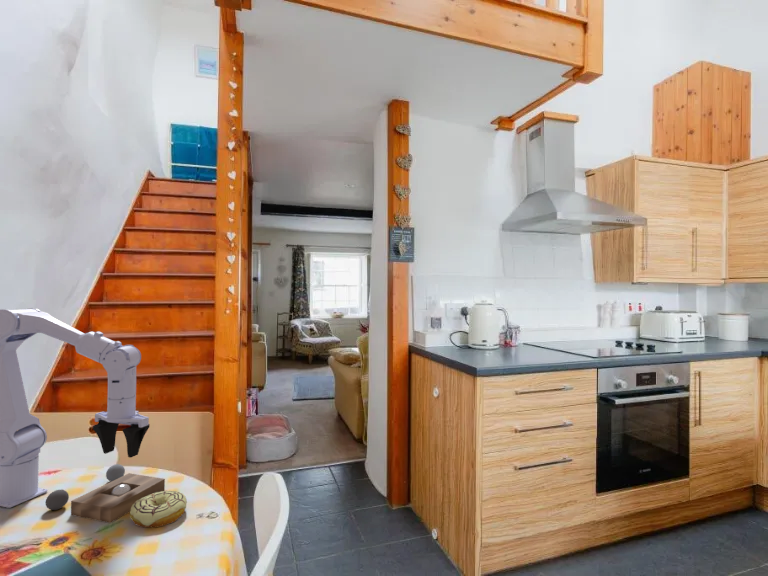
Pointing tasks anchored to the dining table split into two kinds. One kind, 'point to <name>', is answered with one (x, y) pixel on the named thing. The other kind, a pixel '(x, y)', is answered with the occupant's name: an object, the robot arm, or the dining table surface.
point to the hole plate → (115, 498)
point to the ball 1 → (57, 499)
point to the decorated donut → (158, 509)
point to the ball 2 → (115, 472)
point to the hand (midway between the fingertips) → (120, 453)
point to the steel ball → (120, 490)
